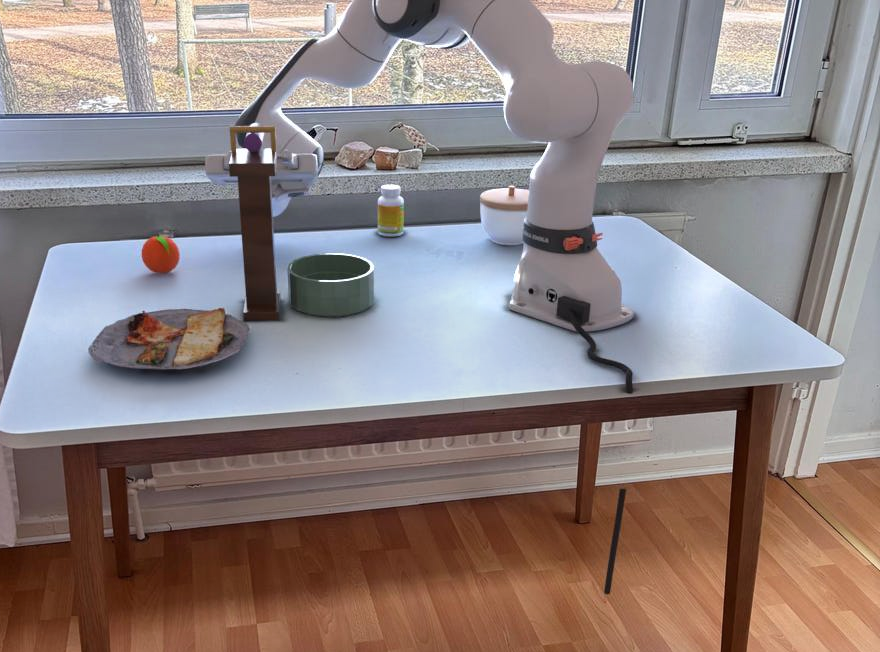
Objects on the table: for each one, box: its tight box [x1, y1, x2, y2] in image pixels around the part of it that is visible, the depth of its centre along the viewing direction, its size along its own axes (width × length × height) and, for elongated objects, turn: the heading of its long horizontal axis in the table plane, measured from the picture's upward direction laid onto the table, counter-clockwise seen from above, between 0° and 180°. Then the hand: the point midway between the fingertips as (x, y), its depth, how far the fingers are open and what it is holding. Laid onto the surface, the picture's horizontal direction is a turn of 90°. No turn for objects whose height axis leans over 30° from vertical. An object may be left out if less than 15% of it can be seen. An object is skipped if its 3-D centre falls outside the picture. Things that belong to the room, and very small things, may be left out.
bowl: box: [286, 252, 375, 318], centre depth 173 cm, size 15×15×6 cm
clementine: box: [141, 234, 180, 275], centre depth 185 cm, size 8×7×7 cm
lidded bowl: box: [479, 185, 529, 246], centre depth 204 cm, size 13×13×11 cm
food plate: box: [87, 307, 251, 371], centre depth 156 cm, size 25×23×4 cm
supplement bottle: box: [377, 184, 405, 238], centre depth 208 cm, size 5×5×10 cm
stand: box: [229, 125, 282, 322], centre depth 163 cm, size 10×7×30 cm
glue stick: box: [244, 123, 264, 152], centre depth 164 cm, size 12×3×3 cm, turn 5°
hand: (259, 155), depth 175 cm, fingers open, 8 cm apart
